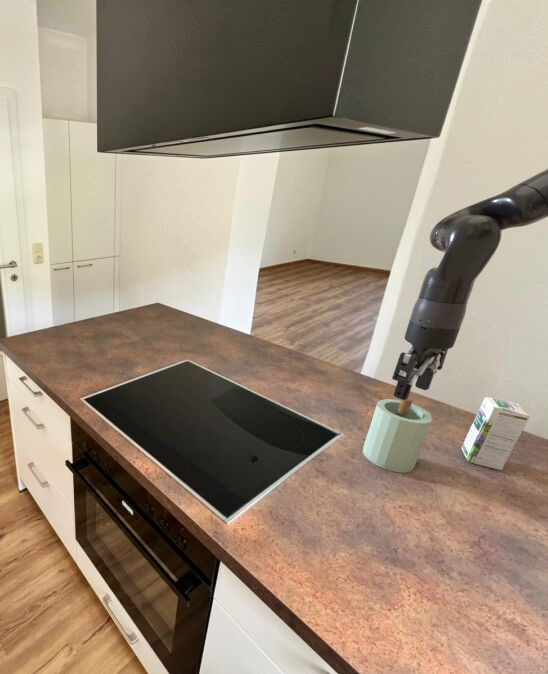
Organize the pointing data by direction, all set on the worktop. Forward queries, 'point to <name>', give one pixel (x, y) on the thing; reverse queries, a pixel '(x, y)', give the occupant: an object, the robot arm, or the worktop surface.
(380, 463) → the mint green cup
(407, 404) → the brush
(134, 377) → the worktop surface
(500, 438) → the syrup box
